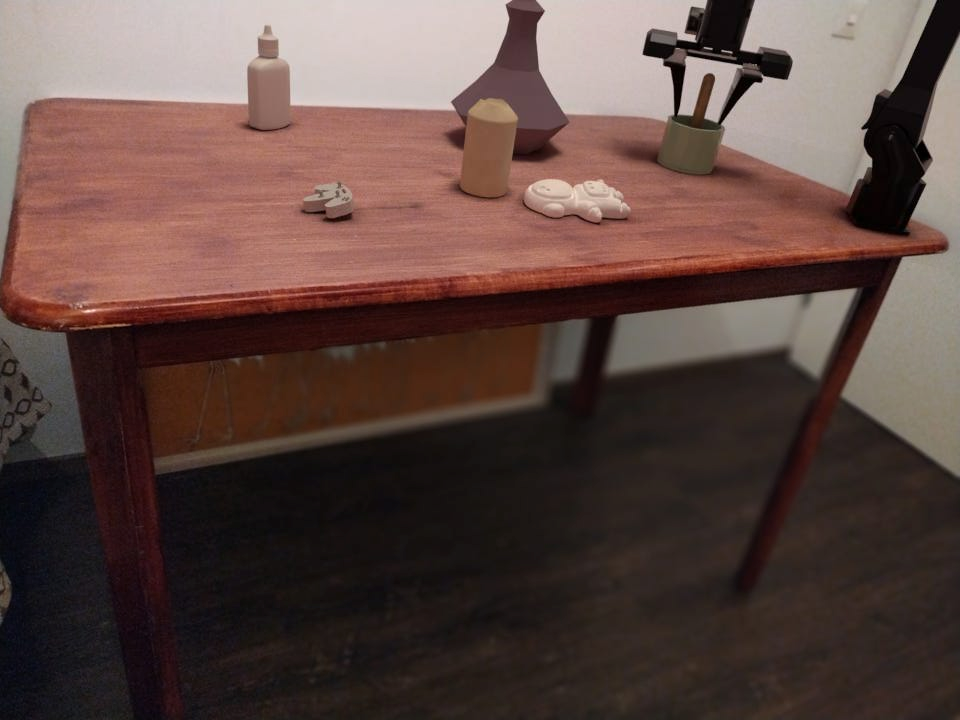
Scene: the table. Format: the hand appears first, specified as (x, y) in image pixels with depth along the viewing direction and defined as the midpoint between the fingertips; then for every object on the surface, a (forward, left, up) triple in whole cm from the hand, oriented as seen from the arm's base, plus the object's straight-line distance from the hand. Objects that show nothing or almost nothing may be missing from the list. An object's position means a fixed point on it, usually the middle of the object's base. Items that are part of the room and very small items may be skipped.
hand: (697, 120), depth 101 cm
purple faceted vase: (+25, +6, -6) cm, 27 cm away
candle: (+24, +26, -6) cm, 36 cm away
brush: (0, 0, -6) cm, 6 cm away
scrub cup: (0, 0, -6) cm, 6 cm away
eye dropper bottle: (+54, +18, -6) cm, 57 cm away
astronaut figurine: (+13, +26, -6) cm, 30 cm away
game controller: (+34, +39, -6) cm, 52 cm away
